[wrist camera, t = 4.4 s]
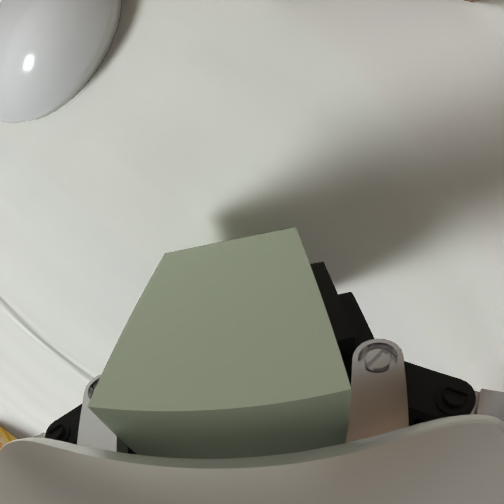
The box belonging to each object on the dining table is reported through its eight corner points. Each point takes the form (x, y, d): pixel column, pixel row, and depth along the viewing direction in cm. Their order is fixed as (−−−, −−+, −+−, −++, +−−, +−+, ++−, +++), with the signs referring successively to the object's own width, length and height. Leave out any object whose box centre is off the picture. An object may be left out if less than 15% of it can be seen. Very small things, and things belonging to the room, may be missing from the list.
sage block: (295, 227, 10) (350, 388, 4) (310, 330, 12) (342, 476, 6) (164, 253, 11) (87, 406, 4) (203, 347, 13) (180, 487, 7)
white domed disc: (113, -60, 6) (103, -72, 4) (140, 69, 10) (127, 64, 8) (-11, 25, 6) (-26, 24, 5) (5, 148, 10) (-13, 153, 9)
